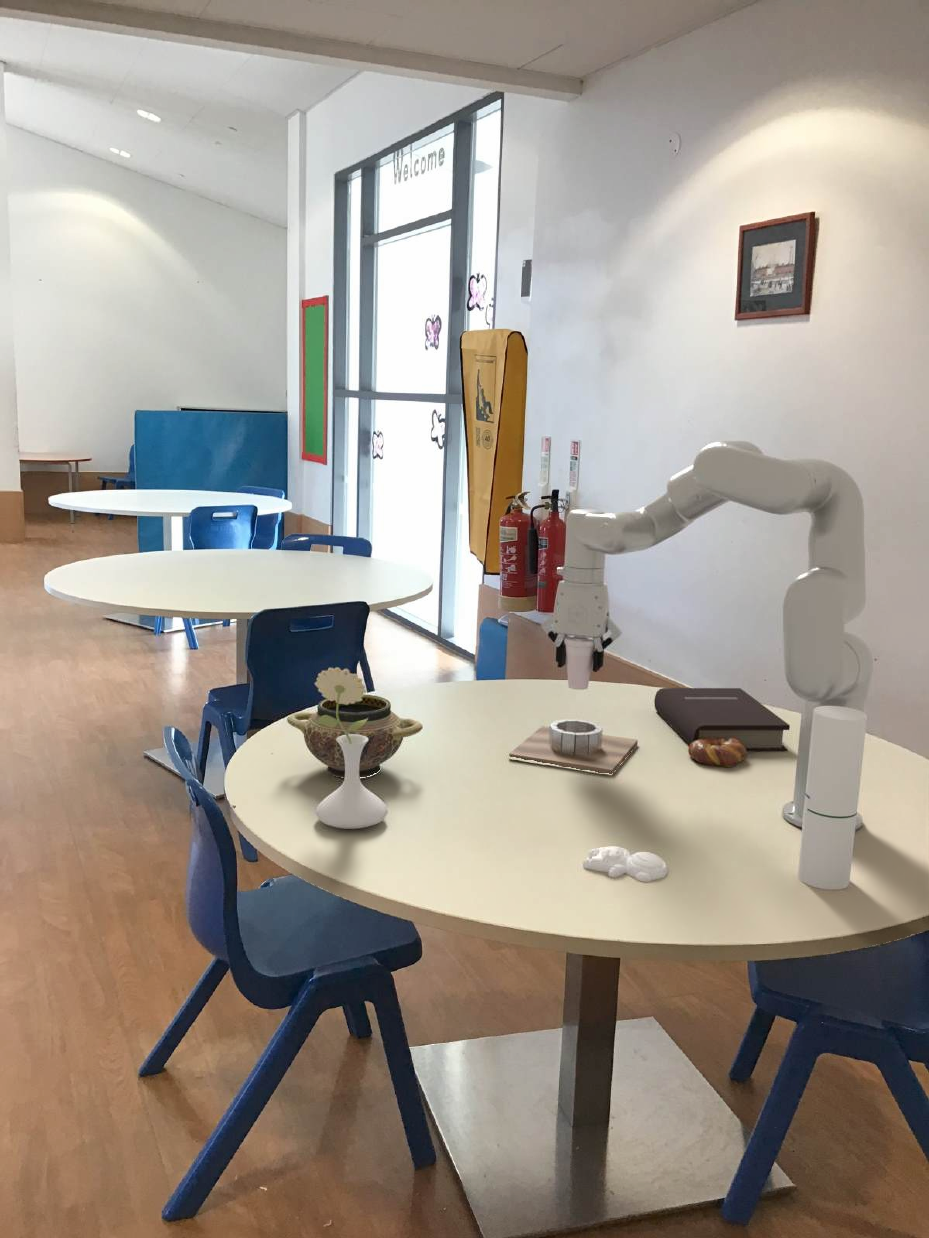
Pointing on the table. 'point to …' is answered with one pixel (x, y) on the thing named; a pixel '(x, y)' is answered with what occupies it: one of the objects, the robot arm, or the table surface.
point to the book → (721, 717)
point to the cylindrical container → (831, 796)
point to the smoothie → (579, 660)
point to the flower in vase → (347, 759)
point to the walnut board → (599, 762)
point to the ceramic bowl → (379, 730)
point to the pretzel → (717, 751)
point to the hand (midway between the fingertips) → (579, 667)
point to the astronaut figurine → (626, 863)
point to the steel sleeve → (575, 737)
